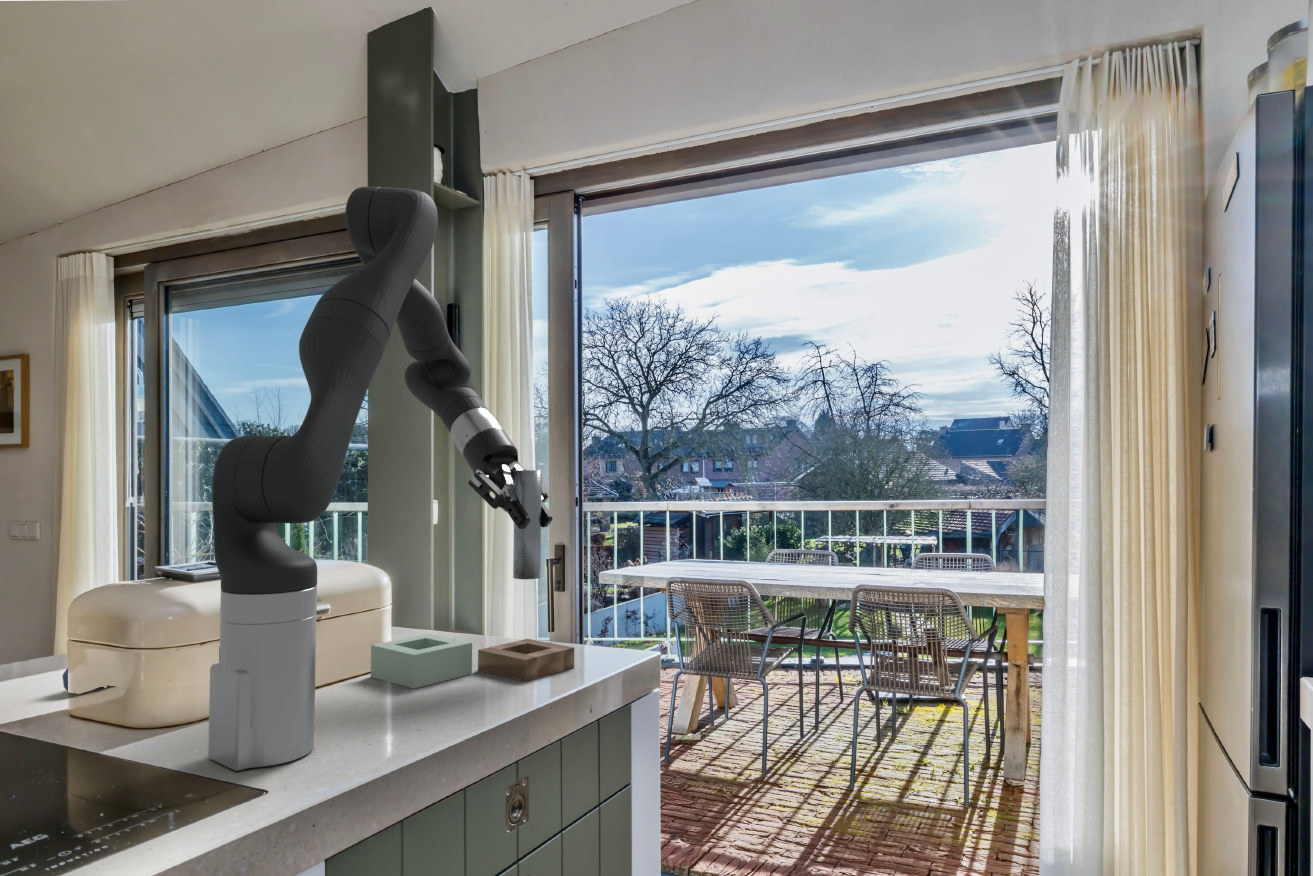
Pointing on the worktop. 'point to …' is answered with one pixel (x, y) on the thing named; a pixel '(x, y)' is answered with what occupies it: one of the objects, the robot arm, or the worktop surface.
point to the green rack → (421, 660)
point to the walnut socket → (526, 659)
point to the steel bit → (530, 537)
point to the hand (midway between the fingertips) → (536, 523)
